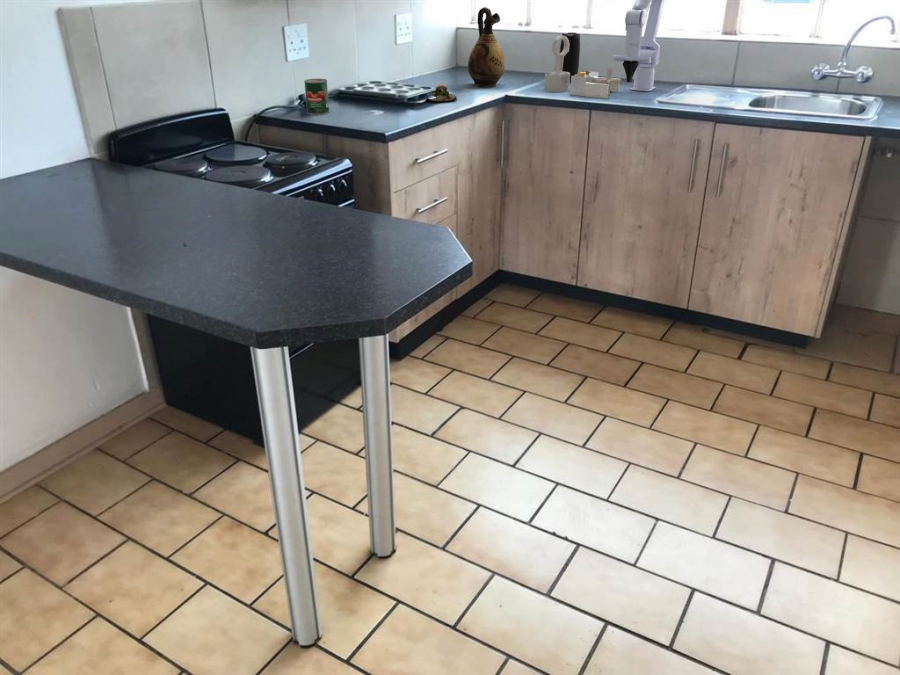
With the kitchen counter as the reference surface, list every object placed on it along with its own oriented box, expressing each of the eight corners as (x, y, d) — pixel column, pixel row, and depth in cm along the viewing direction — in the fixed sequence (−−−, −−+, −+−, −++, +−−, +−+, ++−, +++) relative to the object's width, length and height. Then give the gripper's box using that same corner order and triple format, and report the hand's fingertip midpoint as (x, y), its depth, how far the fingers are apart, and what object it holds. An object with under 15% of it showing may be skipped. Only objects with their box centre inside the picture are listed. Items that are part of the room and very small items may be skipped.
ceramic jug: (511, 86, 312) (514, 8, 298) (482, 89, 304) (483, 10, 290) (487, 80, 324) (488, 5, 310) (458, 84, 316) (458, 7, 302)
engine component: (539, 89, 304) (557, 92, 298) (541, 35, 295) (560, 37, 288) (556, 86, 311) (575, 89, 304) (560, 33, 301) (579, 35, 294)
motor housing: (583, 88, 305) (584, 67, 301) (619, 91, 299) (621, 70, 295) (569, 95, 292) (570, 73, 289) (606, 98, 286) (608, 76, 282)
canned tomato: (310, 115, 261) (307, 82, 256) (304, 111, 267) (301, 79, 262) (332, 113, 264) (329, 81, 258) (326, 109, 270) (323, 77, 265)
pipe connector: (616, 92, 297) (619, 66, 293) (622, 96, 288) (625, 69, 284) (591, 92, 297) (594, 66, 293) (597, 96, 288) (599, 69, 284)
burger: (420, 102, 282) (420, 82, 278) (432, 97, 292) (432, 77, 288) (450, 104, 278) (449, 83, 274) (461, 99, 288) (461, 79, 284)
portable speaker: (556, 81, 321) (559, 34, 312) (560, 78, 329) (563, 31, 320) (575, 82, 319) (578, 34, 310) (579, 79, 326) (582, 32, 317)
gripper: (611, 44, 281) (607, 81, 287) (649, 46, 275) (644, 84, 281) (616, 42, 286) (613, 79, 293) (654, 44, 280) (649, 81, 287)
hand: (629, 81), depth 287 cm, fingers closed
